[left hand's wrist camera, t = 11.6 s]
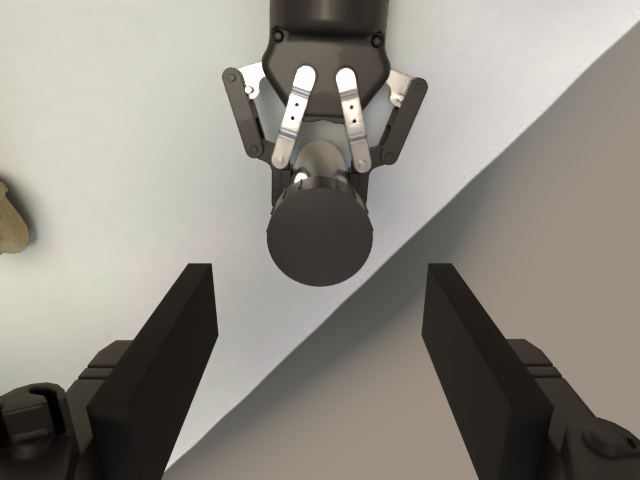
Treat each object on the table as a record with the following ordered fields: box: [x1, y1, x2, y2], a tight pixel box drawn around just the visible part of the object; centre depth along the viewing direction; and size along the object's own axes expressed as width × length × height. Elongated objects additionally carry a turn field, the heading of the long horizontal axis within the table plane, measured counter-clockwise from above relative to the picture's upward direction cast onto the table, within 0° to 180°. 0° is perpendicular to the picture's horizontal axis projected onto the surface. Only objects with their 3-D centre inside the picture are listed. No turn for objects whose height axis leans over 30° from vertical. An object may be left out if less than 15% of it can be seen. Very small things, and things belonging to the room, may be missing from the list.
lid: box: [266, 175, 373, 287], centre depth 21 cm, size 5×5×2 cm
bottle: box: [289, 140, 352, 188], centre depth 29 cm, size 4×4×18 cm
